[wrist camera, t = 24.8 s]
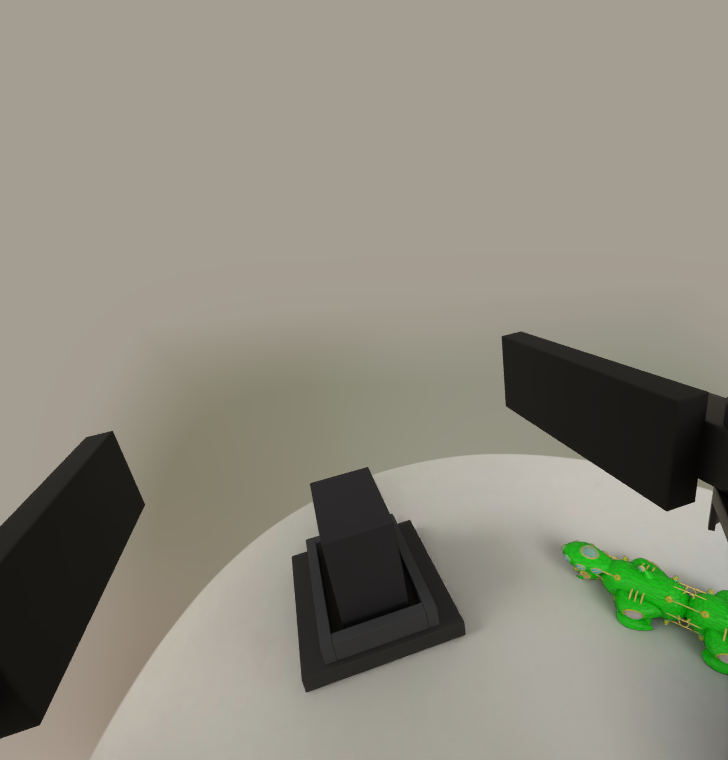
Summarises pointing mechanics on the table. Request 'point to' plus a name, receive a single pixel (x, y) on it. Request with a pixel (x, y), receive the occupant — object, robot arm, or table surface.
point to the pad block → (359, 547)
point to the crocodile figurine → (656, 598)
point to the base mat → (377, 636)
